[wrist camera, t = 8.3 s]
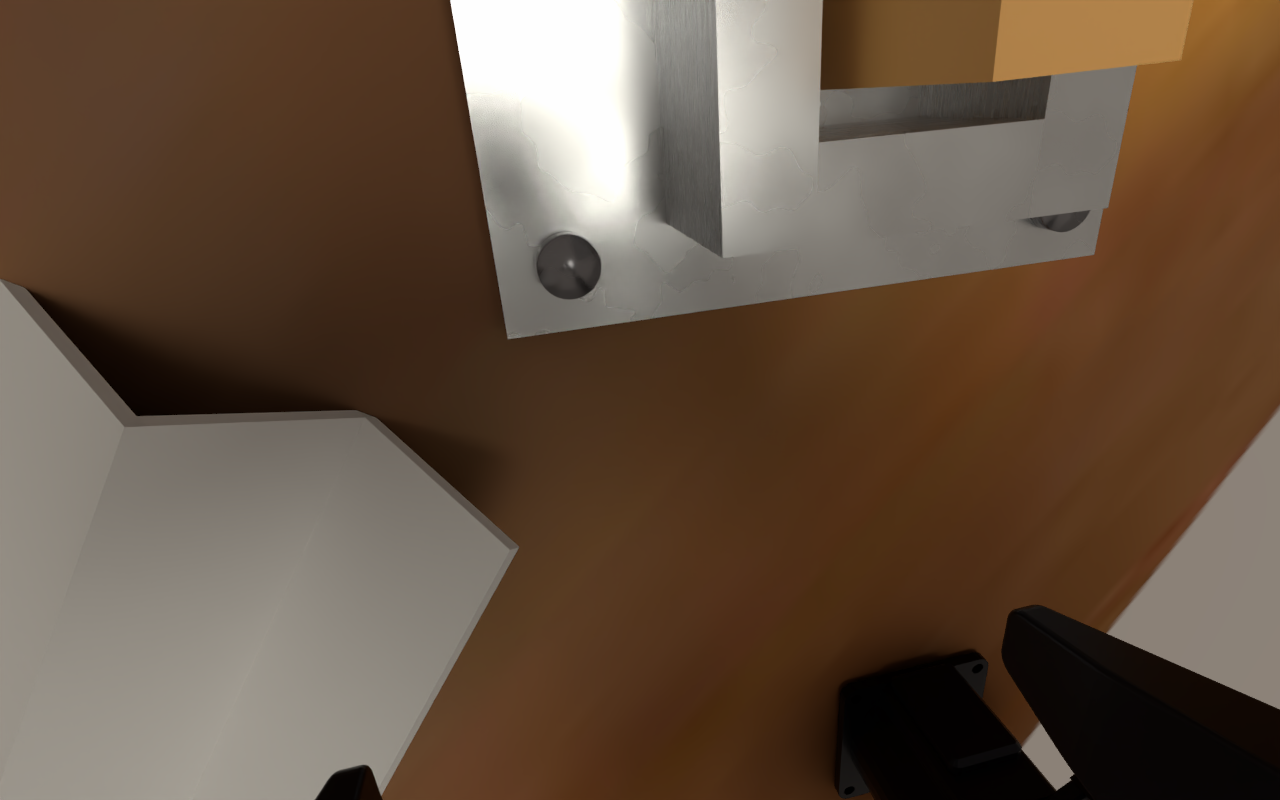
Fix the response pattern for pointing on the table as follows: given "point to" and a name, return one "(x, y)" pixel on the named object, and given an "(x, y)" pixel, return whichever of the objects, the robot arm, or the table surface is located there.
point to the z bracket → (214, 588)
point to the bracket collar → (755, 161)
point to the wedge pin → (992, 39)
